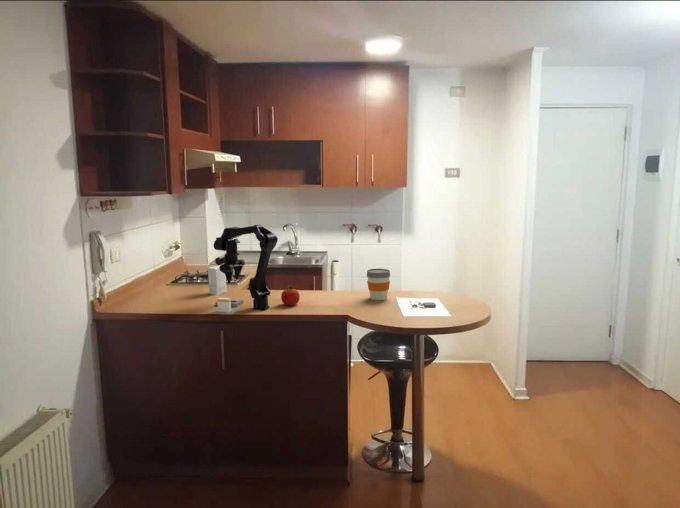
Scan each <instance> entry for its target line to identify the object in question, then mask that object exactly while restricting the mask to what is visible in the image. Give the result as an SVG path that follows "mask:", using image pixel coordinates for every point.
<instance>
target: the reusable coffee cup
mask: <svg viewBox="0 0 680 508" xmlns="http://www.w3.org/2000/svg"><path fill="white" fill-rule="evenodd" d="M366 271H367V272H366V277H367V281H366V283H367V290H368V291H369V297H370V300H372V301H373V300H374V301H385V300H387V298H388V292H389V290H390V282H391V281H390V278H391V271H390V269H386V268H370V269H368V270H366Z"/></svg>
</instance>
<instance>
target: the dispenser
mask: <svg viewBox="0 0 680 508" xmlns="http://www.w3.org/2000/svg"><path fill="white" fill-rule="evenodd" d="M244 301H245V300H244V299H231V308H238V307H240V306H241V305H243V304H244ZM215 307H218V302H215Z"/></svg>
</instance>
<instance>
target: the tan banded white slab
mask: <svg viewBox="0 0 680 508" xmlns="http://www.w3.org/2000/svg"><path fill="white" fill-rule="evenodd" d="M231 300H232V299H231V297H217V302H218V306H217V309H218V311H219V312H230V311H231V309H232V307H231Z"/></svg>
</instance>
